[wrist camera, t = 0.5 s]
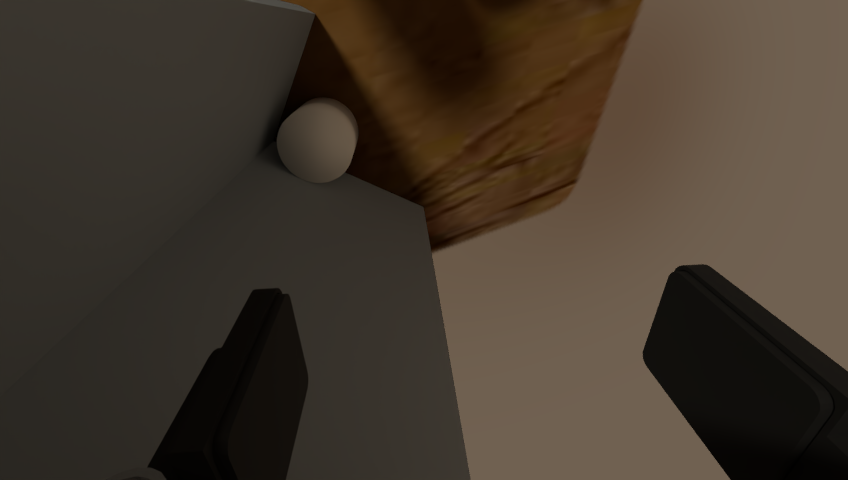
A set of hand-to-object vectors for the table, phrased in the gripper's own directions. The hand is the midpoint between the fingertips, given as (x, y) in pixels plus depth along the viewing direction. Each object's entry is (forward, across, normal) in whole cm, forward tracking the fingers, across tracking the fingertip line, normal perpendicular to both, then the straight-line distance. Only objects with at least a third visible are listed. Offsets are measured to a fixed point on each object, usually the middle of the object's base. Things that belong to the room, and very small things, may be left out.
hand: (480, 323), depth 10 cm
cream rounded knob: (+28, +8, +1) cm, 29 cm away
